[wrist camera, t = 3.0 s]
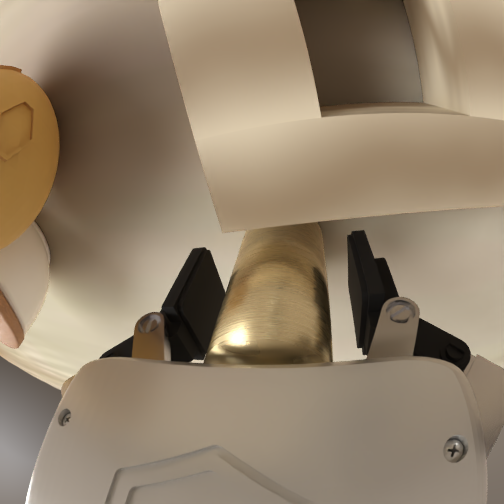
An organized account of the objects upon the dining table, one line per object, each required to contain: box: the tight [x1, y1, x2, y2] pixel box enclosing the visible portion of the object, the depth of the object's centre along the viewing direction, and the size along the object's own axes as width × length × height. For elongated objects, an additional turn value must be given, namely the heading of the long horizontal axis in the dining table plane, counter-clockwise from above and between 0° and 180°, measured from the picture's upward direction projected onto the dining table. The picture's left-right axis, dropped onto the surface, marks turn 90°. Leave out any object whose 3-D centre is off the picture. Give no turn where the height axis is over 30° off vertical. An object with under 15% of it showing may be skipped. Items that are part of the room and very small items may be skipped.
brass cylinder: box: [204, 222, 333, 365], centre depth 11 cm, size 4×4×8 cm
